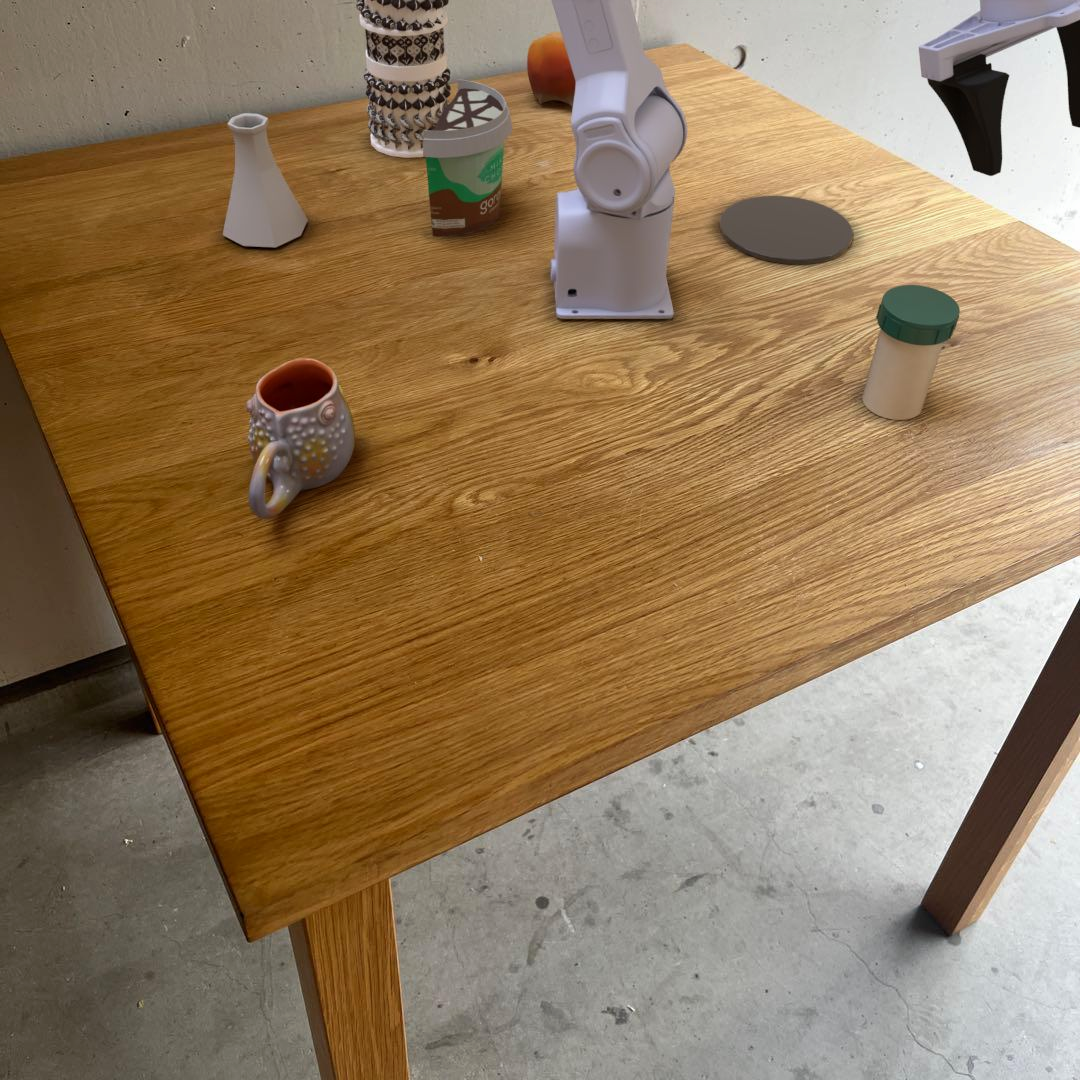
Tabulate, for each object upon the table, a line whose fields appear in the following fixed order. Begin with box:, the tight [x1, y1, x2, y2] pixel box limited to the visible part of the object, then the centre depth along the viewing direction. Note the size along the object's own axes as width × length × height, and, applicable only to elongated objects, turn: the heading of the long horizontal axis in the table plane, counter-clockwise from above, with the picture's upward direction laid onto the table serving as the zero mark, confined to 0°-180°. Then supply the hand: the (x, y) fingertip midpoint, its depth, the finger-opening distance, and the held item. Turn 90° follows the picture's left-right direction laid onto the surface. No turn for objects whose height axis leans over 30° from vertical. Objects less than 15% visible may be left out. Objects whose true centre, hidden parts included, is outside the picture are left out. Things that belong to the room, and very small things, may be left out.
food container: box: [422, 78, 513, 237], centre depth 98 cm, size 12×6×10 cm, turn 168°
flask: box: [222, 112, 309, 248], centre depth 95 cm, size 7×7×10 cm
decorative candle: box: [356, 0, 452, 159], centre depth 104 cm, size 9×9×25 cm
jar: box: [861, 327, 945, 421], centre depth 79 cm, size 4×4×8 cm
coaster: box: [718, 195, 854, 265], centre depth 100 cm, size 12×12×1 cm
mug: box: [245, 357, 356, 520], centre depth 71 cm, size 12×7×7 cm, turn 167°
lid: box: [875, 284, 961, 346], centre depth 77 cm, size 5×5×2 cm
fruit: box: [526, 31, 576, 109], centre depth 119 cm, size 8×8×8 cm
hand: (1036, 149), depth 73 cm, fingers open, 7 cm apart
